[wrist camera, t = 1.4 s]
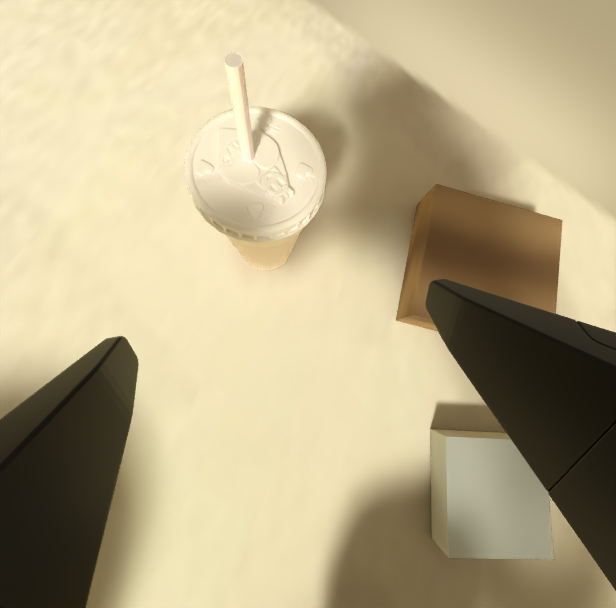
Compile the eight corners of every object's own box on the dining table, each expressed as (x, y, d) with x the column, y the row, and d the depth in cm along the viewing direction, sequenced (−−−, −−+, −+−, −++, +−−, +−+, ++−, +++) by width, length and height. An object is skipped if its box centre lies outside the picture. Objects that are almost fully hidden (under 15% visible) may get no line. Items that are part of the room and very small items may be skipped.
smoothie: (268, 193, 23) (252, -46, 9) (324, 249, 23) (394, 87, 9) (205, 244, 22) (83, 56, 8) (264, 305, 22) (238, 214, 8)
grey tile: (527, 540, 20) (554, 559, 18) (431, 538, 20) (448, 558, 18) (520, 433, 22) (544, 441, 20) (430, 428, 21) (445, 436, 19)
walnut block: (517, 352, 23) (552, 351, 20) (396, 320, 22) (413, 314, 19) (528, 236, 25) (562, 220, 22) (417, 204, 24) (436, 183, 21)
